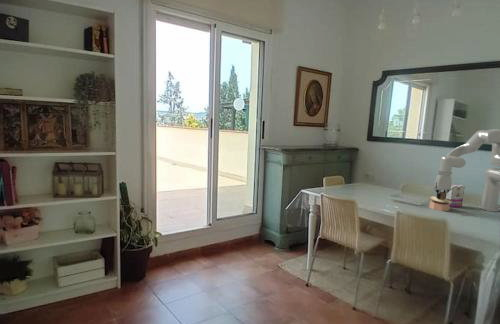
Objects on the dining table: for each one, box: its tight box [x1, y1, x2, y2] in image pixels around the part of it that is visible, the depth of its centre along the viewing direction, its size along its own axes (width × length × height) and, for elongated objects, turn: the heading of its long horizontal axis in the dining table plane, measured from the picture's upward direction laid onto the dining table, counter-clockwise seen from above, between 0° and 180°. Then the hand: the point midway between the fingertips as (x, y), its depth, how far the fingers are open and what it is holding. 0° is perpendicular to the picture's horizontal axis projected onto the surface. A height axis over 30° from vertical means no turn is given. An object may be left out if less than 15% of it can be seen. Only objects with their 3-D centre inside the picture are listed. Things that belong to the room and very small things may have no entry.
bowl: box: [428, 199, 451, 212], centre depth 233 cm, size 12×12×5 cm
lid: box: [429, 191, 452, 203], centre depth 232 cm, size 14×14×6 cm
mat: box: [452, 210, 478, 217], centre depth 224 cm, size 11×11×1 cm
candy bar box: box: [446, 184, 465, 208], centre depth 241 cm, size 11×5×16 cm, turn 105°
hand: (440, 198), depth 233 cm, fingers closed on lid, 3 cm apart
